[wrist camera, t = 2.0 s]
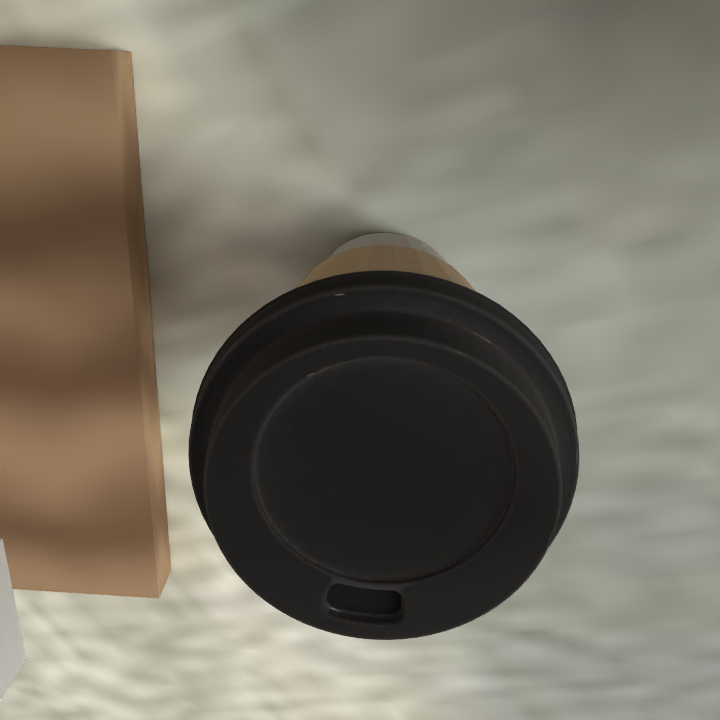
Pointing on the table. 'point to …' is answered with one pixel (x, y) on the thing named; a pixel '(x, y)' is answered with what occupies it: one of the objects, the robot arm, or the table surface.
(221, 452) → the coffee cup
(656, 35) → the table surface
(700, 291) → the table surface
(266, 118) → the table surface
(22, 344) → the shelf board
